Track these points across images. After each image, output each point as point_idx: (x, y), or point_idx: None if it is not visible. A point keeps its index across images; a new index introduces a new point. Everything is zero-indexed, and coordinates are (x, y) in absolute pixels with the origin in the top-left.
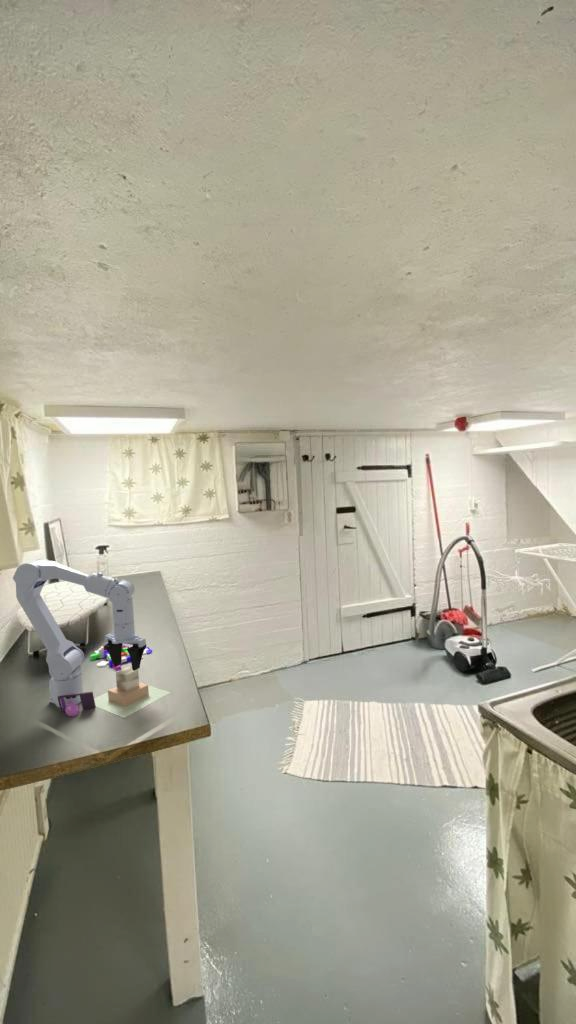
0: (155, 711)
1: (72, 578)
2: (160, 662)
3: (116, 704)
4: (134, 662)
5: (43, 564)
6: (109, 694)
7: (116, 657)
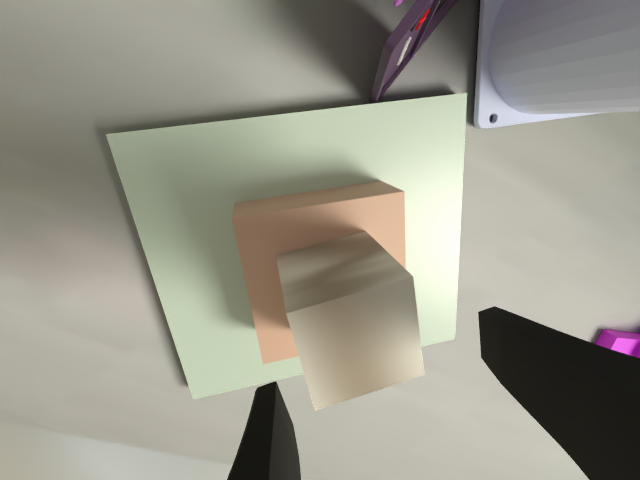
0: (98, 286)
1: None
2: (497, 456)
3: (300, 184)
4: (236, 470)
5: None
6: (382, 188)
7: (548, 383)
